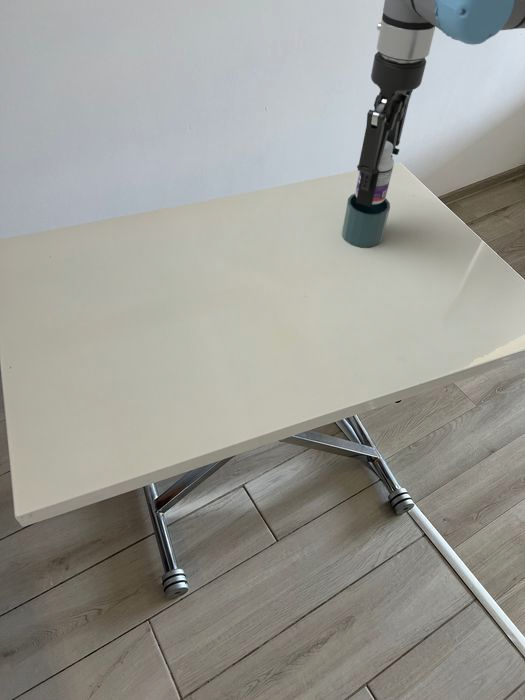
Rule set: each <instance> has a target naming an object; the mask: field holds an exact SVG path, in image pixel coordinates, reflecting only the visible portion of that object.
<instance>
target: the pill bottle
mask: <svg viewBox="0 0 525 700" xmlns="http://www.w3.org/2000/svg"><path fill="white" fill-rule="evenodd" d="M392 151H393V144H392V143H390V142H389V141H386V143H385V147H384V150H383V153H382V157H381V160H380V163H379V167H378V170H379V175H378V180H377V184H376V189H375V193H374V198H373V202H372V204H379V203H381V202H383V201H384V200H385V198H386V197H387V194H388V189H389V185H390V181H391V178H392V174H393V169H394V165H395V161H394V158H393V157H391V155H392V156H393V154H392ZM361 174H362V172H361V171H358V177H357V183H356V187H355V192H354V194H356V197H357V194H358V189H359V184H360V179H361Z"/></svg>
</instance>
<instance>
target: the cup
mask: <svg viewBox="0 0 525 700" xmlns="http://www.w3.org/2000/svg"><path fill="white" fill-rule="evenodd" d="M356 199H357V197H356V194H355V193H353V194H352V193H351V195H350V196H349V197H348V198H347V200H346V201H347V202H346V207H345V212H344V217H343V219H344V220H343V224H342V230H341V236H342V238H343V240H344V241H345V242H347V243H348V244H350V245H351V246H354V247H357V248H364V249H365V248H366V249H367V248H373V247H376V246H378V245H379V244H380V243H381V242H382V240H383V238H384V234H385V230H386V227H387V226H386V225H387V222H388V218H389V215H390V210H391V203H390V202H389V200H388V199H387V198H386V197H385V200H384V201H383V202H381V203H379V204H372V206H371V207H368V206H365V205H362V204H359V203H356Z"/></svg>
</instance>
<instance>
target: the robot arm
mask: <svg viewBox="0 0 525 700" xmlns="http://www.w3.org/2000/svg"><path fill="white" fill-rule="evenodd" d="M383 3H384V4H383V8H382V16H381V17H382V18H381V20H380V21H381V22H378V24H377V25H376V30H377V31H379V32H378V38H377V43H376V50H377V52H376V53H375V54H374V58H373V63H372V68H371V74H370V79H371V81H372V83H373V84H374V85H376V86H377V87H378V88H379V94H377V96H376V97H375V100H374V103H373V107H374V109H369V110H368V111H367V113H366V114H367V115H366V126H365V130H364V131H365V132H364V136H363V141H362V147H361V151H360V157H359V161H358V164H357V165H356V166H357V167H356V169H357V171H358V172H360V171H361V172H362V174H361V179H360V184H359V189H358V194H357V199H356V203H359V204H362V205H365V206H368V207H371V206H372V202H373V198H374V193H375V189H376V184H377V180H378V175H379V170H378V167H379V163H380V160H381V157H382V153H383V150H384V147H385V143H386V141H389V142H390V143H392V144H393V151H392V155H391V157H392V158H393V157H394V155H395V156H398V155H399V154H400V148H397V147H398V146H399V145H400V143H401V137H402V133H403V129H404V124H405V120H406V117H407V111H408V108H409V103H410V100H411V97H412V93H413V90H416V89H418V88H419V87H420V86H421V84H422V81H423V77H424V73H425V70H426V65H427V60H426V58H427V57H428V56H429V55H430V51H431V47H432V42H433V38H434V34H435V30H436V28H437V29H439V30H440V31H441V32H442V34H445V36H446V37H450V38H451V39H452V40H455V41H458V42H461V43H464V44H466V45H471V46H474V45H481V44H483V43H485V42H486V41H487V40H489V39H491V38H493V37H495V36H496V35H497V34H499V32H500V31H507V30H509V31H510V30H516V29H525V0H384V2H383Z"/></svg>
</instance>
